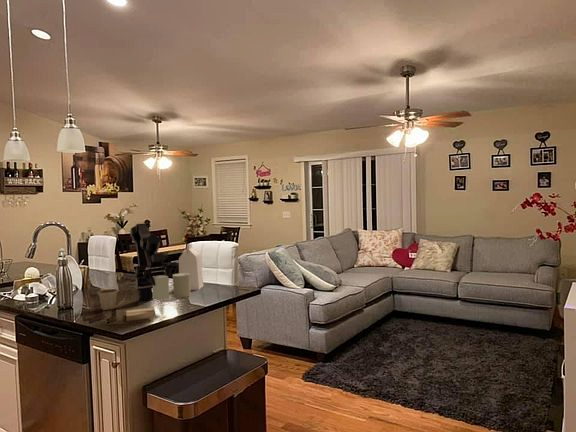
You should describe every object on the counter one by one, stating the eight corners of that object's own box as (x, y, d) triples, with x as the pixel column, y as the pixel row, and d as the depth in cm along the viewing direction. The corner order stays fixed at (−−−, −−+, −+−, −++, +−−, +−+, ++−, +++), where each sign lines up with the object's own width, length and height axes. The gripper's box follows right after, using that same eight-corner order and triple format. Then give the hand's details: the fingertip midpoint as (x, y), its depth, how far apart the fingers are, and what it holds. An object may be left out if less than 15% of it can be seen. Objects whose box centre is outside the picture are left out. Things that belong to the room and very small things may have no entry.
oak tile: (126, 315, 198) (126, 310, 198) (154, 312, 203) (153, 307, 203) (126, 322, 187) (126, 316, 187) (155, 318, 191) (155, 312, 191)
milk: (199, 289, 250) (196, 244, 249) (179, 290, 250) (176, 245, 249) (203, 285, 262) (201, 242, 261) (184, 286, 262) (182, 243, 261)
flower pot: (121, 305, 217) (120, 288, 217) (115, 310, 208) (114, 292, 208) (102, 306, 217) (101, 289, 217) (95, 311, 208) (94, 293, 207)
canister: (153, 298, 199) (152, 276, 199) (165, 296, 202) (164, 274, 202) (157, 300, 195) (155, 278, 194) (169, 298, 198) (168, 276, 197)
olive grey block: (186, 297, 230) (185, 275, 229) (170, 297, 232) (169, 275, 231) (193, 293, 239) (192, 272, 238) (178, 293, 241) (177, 272, 240)
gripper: (135, 248, 196) (143, 276, 187) (175, 244, 206) (185, 270, 197) (131, 264, 203) (139, 291, 194) (171, 259, 213) (179, 285, 204)
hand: (161, 284), depth 197 cm, fingers closed on canister, 6 cm apart
